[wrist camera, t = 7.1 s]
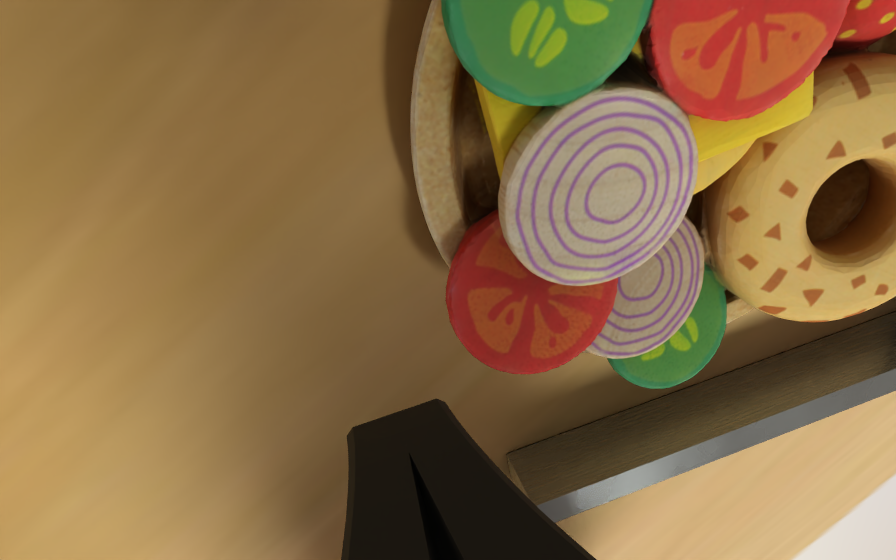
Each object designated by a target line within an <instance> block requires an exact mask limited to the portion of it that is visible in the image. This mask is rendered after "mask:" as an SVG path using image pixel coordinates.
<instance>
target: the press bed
mask: <svg viewBox="0 0 896 560" xmlns="http://www.w3.org/2000/svg"><path fill="white" fill-rule="evenodd" d="M893 391H896V312H893V313H890V314H888V315H885V316H882V317H879V318H877V319H874V320H871V321H869V322H866V323H863V324H860V325H858V326H855V327H852V328H849V329H847V330H844V331H841V332H838V333H836V334H833V335H830V336H828V337H825V338H822V339H819V340H817V341H814V342H811V343H808V344H806V345H803V346H800V347H798V348H795V349H792V350H789V351H787V352H784V353H781V354H778V355H776V356H773V357H770V358H767V359H765V360H762V361H759V362H757V363H754V364H751V365H748V366H746V367H743V368H740V369H737V370H735V371H732V372H729V373H726V374H724V375H721V376H718V377H716V378H713V379H710V380H707V381H705V382H702V383H699V384H696V385H694V386H691V387H688V388H685V389H683V390H680V391H677V392H675V393H672V394H669V395H666V396H664V397H661V398H658V399H655V400H653V401H650V402H647V403H645V404H642V405H639V406H636V407H634V408H631V409H628V410H625V411H623V412H620V413H617V414H614V415H612V416H609V417H606V418H604V419H601V420H598V421H595V422H593V423H590V424H587V425H584V426H582V427H579V428H576V429H573V430H571V431H568V432H565V433H563V434H560V435H557V436H554V437H552V438H549V439H546V440H543V441H541V442H538V443H535V444H532V445H530V446H527V447H524V448H522V449H519V450H516V451H513V452H511V453H508V454H507V459H508V465H509V470H510V476H511V478H512V480H513V482H514V484H515V485H516V486H517V487H518V488H519V489H520V490H521V491H522V492H523V493H524V494H525V495H526V496H527V497H528V498H529V499H530V500H531V501H532V502H533V503H534V504H535V505H536V506H537V507H538V508H539V509H540V510H541V511H542V512H543V513H544V514H545V515H547V516H548V517H549V518H550V519H551V520H552V521H553V522H554V523H555V522H558V521H560V520H563V519H566V518H568V517H571V516H573V515H576V514H578V513H581V512H584V511H586V510H589V509H591V508H594V507H597V506H599V505H602V504H604V503H607V502H609V501H612V500H615V499H617V498H620V497H622V496H625V495H627V494H630V493H633V492H635V491H638V490H640V489H643V488H646V487H648V486H651V485H653V484H656V483H658V482H661V481H664V480H666V479H669V478H671V477H674V476H676V475H679V474H682V473H684V472H687V471H689V470H692V469H695V468H697V467H700V466H702V465H705V464H707V463H710V462H713V461H715V460H718V459H720V458H723V457H725V456H728V455H731V454H733V453H736V452H738V451H741V450H744V449H746V448H749V447H751V446H754V445H756V444H759V443H762V442H764V441H767V440H769V439H772V438H774V437H777V436H780V435H782V434H785V433H787V432H790V431H793V430H795V429H798V428H800V427H803V426H805V425H808V424H811V423H813V422H816V421H818V420H821V419H823V418H826V417H829V416H831V415H834V414H836V413H839V412H842V411H844V410H847V409H849V408H852V407H854V406H857V405H860V404H862V403H865V402H867V401H870V400H872V399H875V398H878V397H880V396H883V395H885V394H888V393H891V392H893Z"/></svg>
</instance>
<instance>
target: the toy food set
mask: <svg viewBox="0 0 896 560" xmlns="http://www.w3.org/2000/svg"><path fill="white" fill-rule="evenodd" d="M410 136H411V155H412V162H413V170H414V176H415V182H416V187H417V192H418V196H419V200H420V204H421V207H422V210H423V214H424V217H425V220H426V223H427V226H428V228H429V231H430V233H431V236H432V238H433V240H434V242H435V244H436V246H437V248H438V250H439V252H440V254H441V256H442V258H443V259H444V261H445V262H446V264H447V265H448V267H449V268H450V272H449V275H448V281H447V286H446V304H447V309H448V314H449V319H450V323H451V325H452V327H453V329H454V331H455V333H456V335H457V337H458V338H459V340H460V341H461V342H462V344H463V345H464V346H465V348H466V349H467V350H468V351H469V352H470V353H471V354H472V355H473V356H474V357H475V358H477V359H478V360H480V361H481V362H483V363H484V364H486V365H487V366H489V367H491V368H494V369H496V370H499V371H503V372H508V373H512V374H535V373H540V372H545V371H548V370H550V369H553V368H557V367H559V366H560V365H563V364H565V363H567V362H568V361H570V360H571V359H573V358H574V357H576V356H578V355H579V353H581V352H586V353H592V354H595V355H598V356H602V357H606V358H607V359H608V361H609V363H610V365H611V366H612V367H613V369H614V370H615V371H616V372H617V373H618V374H619V375H621V376H622V377H623V378H625V379H626V380H628V381H629V382H631V383H633V384H635V385H638V386H641V387H646V388H650V389H657V388H659V389H663V388H669V387H672V386H675V385H678V384H680V383H682V382H684V381H686V380H688V379H690V378H692V377H693V376H695V375H696V374H697V373H698V372H699V371H700V370H701V369H703V368H704V366H705V365H706V364H707V363H708V362H709V361H710V360H711V358H712V357H713V356H714V354H715V353H716V351H717V349H718V347H719V346H720V343H721V340H722V338H723V335H724V332H725V328H726V324H728V323H729V322H731V321H733V320H735V319H737V318H739V317H741V316H742V315H744V314H746V313H748V312H750V311H751V310H753V309H754V308H756V309H758V310H760V311H762V312H764V313H767V314H770V315H773V316H775V317H779V318H782V319H788V320H794V321H801V322H827V321H832V320H838V319H842V318H845V317H849V316H853V315H856V314H860V313H862V312H864V311H867V310H869V309H872V308H874V307H876V306H878V305H880V304H882V303H884V302H886V301H888V300H890V299H892V298H893V297H895V296H896V0H432V1H431V4H430V7H429V10H428V13H427V17H426V20H425V24H424V27H423V31H422V35H421V40H420V44H419V48H418V53H417V58H416V63H415V69H414V75H413V85H412V96H411V120H410Z"/></svg>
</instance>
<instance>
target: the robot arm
mask: <svg viewBox="0 0 896 560" xmlns="http://www.w3.org/2000/svg"><path fill="white" fill-rule="evenodd" d="M347 442H348V457H349V480H348V499H347V514H346V524H345V532H344V541H343V549H342V558H341V560H596V559H595V558H594V557H593V556H592V555H590V554H589V553H588V552H587V551H586V550H585V549H584V548H582V547H581V546H580V545H579V544H578V543H577V542H576V541H574V540H573V539H572V538H571V537H570V536H569V535H568V534H566V533H565V532H564V531H563V530H562V529H561V528H560V527H558V526H557V525H556V524H555V523H554V522H553V521H552V520H551V519H550V518H549V517H548V516H547V515H545V514H544V513H543V512H542V511H541V510H540V509H539V508H538V507H537V506H536V505H535V504H534V503H533V502H532V501H531V500H530V499H529V498H528V497H527V496H526V495H525V494H524V493H523V492H522V491H521V490H520V489H519V488H518V487H517V486H516V485H515V484H514V483H513V482H512V481H511V480H510V479H509V478H508V477H507V476H506V475H505V474H504V473H503V472H502V471H501V470H500V469H499V468H498V467H497V466H496V465H495V464H494V463H493V462H492V460H491V459H490V458H489V457H488V456H487V455H486V454H485V453H484V451H483V450H482V449H481V448H480V447H479V446H478V445H477V444H476V442H475V441H474V440H473V439H472V438H471V436H470V435H469V434H468V433H467V432H466V430H465V429H464V428H463V427H462V425H461V424H460V423H459V421H458V420H457V419H456V417H455V416H454V415H453V413H452V412H451V410H450V409H449V407H448V406H447V404H446V403H445V402H443V401H441V400H439V399H434V400H431V401H428V402H425V403H422V404H419V405H416V406H414V407H411V408H408V409H405V410H402V411H399V412H396V413H393V414H390V415H387V416H384V417H382V418H379V419H376V420H373V421H370V422H367V423H364V424H361V425H358V426H355V427H353V428H352V429H351V431H350V432H349V434H348V435H347Z"/></svg>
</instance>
